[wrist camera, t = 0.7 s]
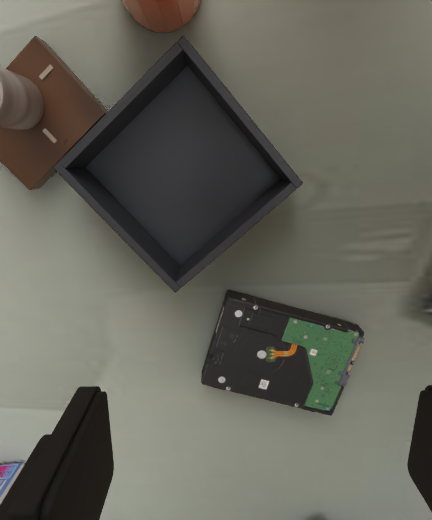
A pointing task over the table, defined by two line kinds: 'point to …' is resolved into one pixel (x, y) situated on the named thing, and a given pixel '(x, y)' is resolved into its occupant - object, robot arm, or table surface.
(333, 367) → the disk drive
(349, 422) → the table surface
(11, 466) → the ink cartridge box
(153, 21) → the cup
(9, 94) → the tap knob
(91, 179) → the dark grey square tray
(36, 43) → the panel
